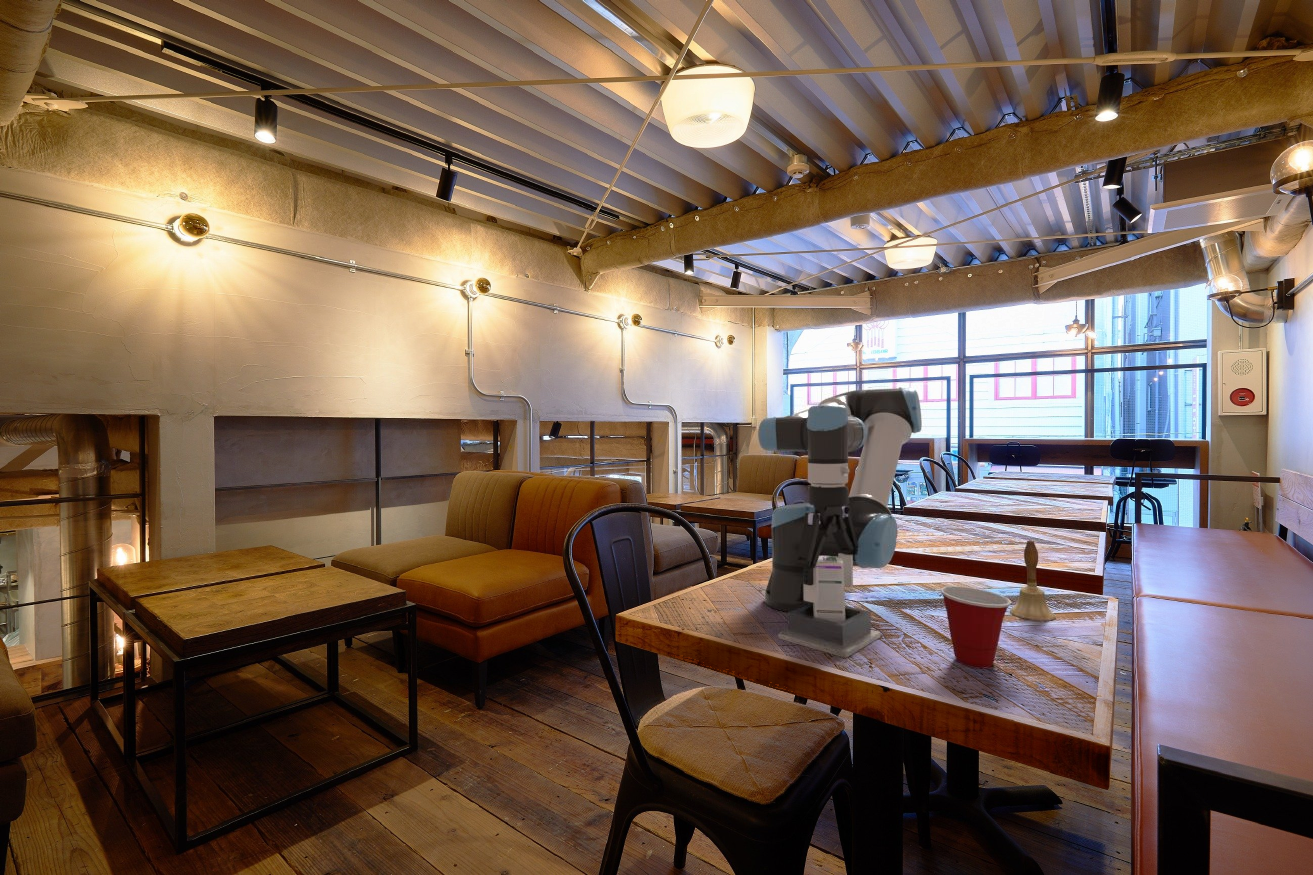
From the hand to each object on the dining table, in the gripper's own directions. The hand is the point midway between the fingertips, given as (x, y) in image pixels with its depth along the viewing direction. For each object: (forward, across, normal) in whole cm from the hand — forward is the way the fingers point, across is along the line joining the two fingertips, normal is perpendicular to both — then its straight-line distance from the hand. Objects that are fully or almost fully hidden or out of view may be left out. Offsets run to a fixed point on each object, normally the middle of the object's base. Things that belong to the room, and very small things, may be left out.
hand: (829, 593), depth 112 cm
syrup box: (+8, 0, 0) cm, 8 cm away
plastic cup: (+9, +6, -24) cm, 26 cm away
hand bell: (+9, +42, -25) cm, 50 cm away
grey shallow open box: (+9, 0, 0) cm, 9 cm away
